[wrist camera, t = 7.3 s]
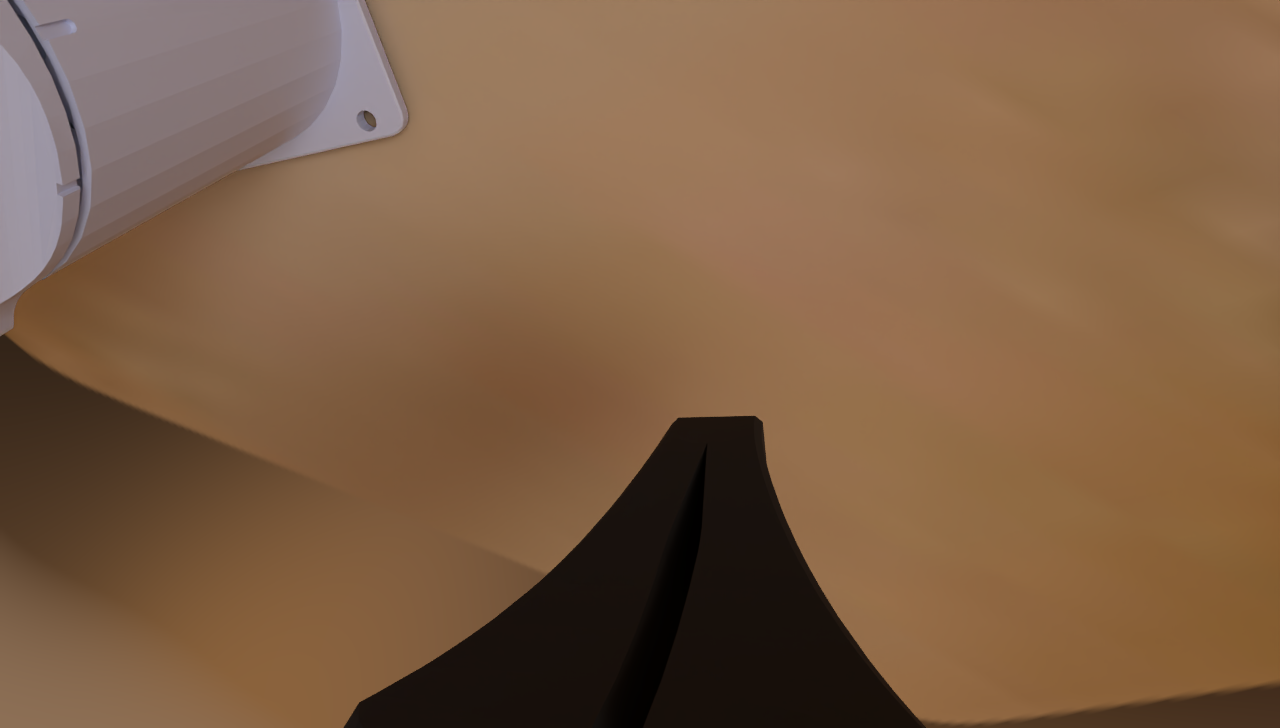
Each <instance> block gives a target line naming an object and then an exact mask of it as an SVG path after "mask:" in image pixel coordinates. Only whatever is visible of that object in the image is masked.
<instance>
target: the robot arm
mask: <svg viewBox="0 0 1280 728" xmlns="http://www.w3.org/2000/svg"><path fill="white" fill-rule="evenodd" d="M364 111H368V112H370V113H372V114H373V116H374V117H375V119H376V123H377V125H376V127H372V126H371V125H369V124H368V123H367V122H366V120H365V119H364ZM407 123H408V112H407V108H406V105H405V103H404V100H403V98H402V95H401V93H400V90H399V87H398V85H397V82H396V80H395V77H394V74H393V72H392V69H391V67H390V64H389V62H388V59H387V56H386V54H385V51H384V49H383V46H382V43H381V41H380V38H379V36H378V33H377V30H376V28H375V25H374V23H373V20H372V18H371V15H370V12H369V10H368V7H367V5H366V2H365V0H0V336H1V335H3V334H4V333H6V332H8V331H9V330H11V329H13V327H14V310H15V306H16V304H17V301H18V299H19V298H20V296H21V295H22V294H23V292H25V291H26V290H27V289H29V288H30V287H31V286H33V285H34V284H35V283H37V282H38V281H40V280H43V279H45V278H47V277H49V276H50V275H52V274H54V273H56V272H58V271H59V270H61V269H63V268H65V267H66V266H68V265H70V264H72V263H74V262H75V261H77V260H79V259H81V258H82V257H84V256H86V255H88V254H90V253H91V252H93V251H95V250H97V249H98V248H100V247H102V246H104V245H105V244H107V243H109V242H111V241H113V240H114V239H116V238H118V237H120V236H121V235H123V234H125V233H127V232H129V231H130V230H132V229H134V228H136V227H137V226H139V225H141V224H143V223H144V222H146V221H148V220H150V219H152V218H153V217H155V216H157V215H159V214H160V213H162V212H164V211H166V210H168V209H169V208H171V207H173V206H175V205H176V204H178V203H180V202H182V201H184V200H185V199H187V198H189V197H191V196H192V195H194V194H196V193H198V192H199V191H201V190H203V189H205V188H207V187H208V186H210V185H212V184H214V183H215V182H217V181H219V180H221V179H223V178H224V177H226V176H228V175H230V174H231V173H233V172H235V171H239V170H243V169H247V168H252V167H256V166H261V165H265V164H270V163H274V162H279V161H283V160H288V159H292V158H297V157H301V156H305V155H310V154H314V153H319V152H323V151H328V150H332V149H337V148H341V147H346V146H350V145H355V144H359V143H364V142H368V141H372V140H377V139H381V138H386V137H390V136H394V135H396V134H398V133H399V132H401V131H402V130H403V129H404V128H405V127H406V125H407ZM344 728H926V727H925V726H924V725H923V724H922V723H921V722H920V721H919V719H918V718H917V717H916V716H915V715H914V714H913V713H912V712H911V710H910V709H909V708H908V707H907V706H906V705H905V704H904V702H903V701H902V700H901V699H900V698H899V697H898V695H897V694H896V693H895V692H894V691H893V690H892V688H891V687H890V686H889V685H888V683H887V682H886V681H885V680H884V678H883V677H882V676H881V675H880V673H879V672H878V671H877V670H876V668H875V667H874V666H873V665H872V663H871V662H870V661H869V659H868V658H867V657H866V655H865V654H864V652H863V651H862V649H861V648H860V647H859V645H858V644H857V642H856V641H855V640H854V638H853V637H852V635H851V634H850V633H849V631H848V630H847V628H846V627H845V626H844V624H843V623H842V621H841V620H840V618H839V617H838V616H837V614H836V612H835V611H834V609H833V608H832V606H831V604H830V603H829V601H828V600H827V598H826V596H825V595H824V593H823V591H822V590H821V588H820V586H819V585H818V583H817V581H816V579H815V578H814V576H813V574H812V572H811V570H810V569H809V567H808V565H807V563H806V561H805V559H804V557H803V555H802V553H801V551H800V549H799V547H798V545H797V543H796V541H795V539H794V537H793V534H792V532H791V530H790V528H789V526H788V524H787V521H786V519H785V516H784V514H783V511H782V509H781V506H780V504H779V501H778V498H777V495H776V493H775V490H774V487H773V484H772V481H771V478H770V475H769V471H768V468H767V463H766V453H765V442H764V432H763V422H762V421H761V420H759V419H758V418H757V417H756V416H731V417H691V418H678V419H677V420H676V421H675V422H674V423H673V424H672V425H671V426H670V428H669V429H668V431H667V432H666V434H665V435H664V437H663V438H662V440H661V441H660V443H659V444H658V446H657V447H656V449H655V450H654V452H653V453H652V454H651V456H650V457H649V459H648V460H647V461H646V463H645V464H644V465H643V467H642V468H641V470H640V471H639V472H638V474H637V475H636V476H635V477H634V479H633V480H632V481H631V483H630V484H629V485H628V487H627V488H626V489H625V490H624V492H623V493H622V494H621V496H620V497H619V498H618V499H617V501H616V502H615V503H614V504H613V506H612V507H611V508H610V509H609V510H608V511H607V512H606V514H605V515H604V516H603V517H602V518H601V519H600V520H599V522H598V523H597V524H596V525H595V526H594V527H593V528H592V530H591V531H590V532H589V533H588V534H587V535H586V536H585V537H584V539H583V540H582V541H581V542H580V543H579V544H578V545H577V546H576V547H575V548H574V549H573V550H572V551H571V552H570V553H569V554H568V555H567V556H566V557H565V558H564V559H563V560H562V561H561V562H560V563H559V564H558V565H557V566H556V567H555V568H554V569H553V570H552V571H551V572H549V573H548V574H547V575H546V576H545V577H544V578H543V579H542V580H541V581H540V582H539V583H537V584H536V585H535V586H534V587H533V588H532V589H530V590H529V591H528V592H527V593H526V594H524V595H523V596H522V597H521V598H519V599H518V600H517V601H516V602H514V603H513V604H512V605H511V606H509V607H508V608H507V609H506V610H504V611H503V612H502V613H501V614H499V615H498V616H497V617H496V618H495V619H493V620H492V621H490V622H489V623H488V624H486V625H485V626H483V627H482V628H481V629H479V630H478V631H476V632H475V633H473V634H472V635H471V636H469V637H468V638H466V639H465V640H463V641H462V642H461V643H459V644H458V645H456V646H454V647H453V648H452V649H450V650H448V651H447V652H445V653H444V654H442V655H441V656H439V657H438V658H436V659H435V660H433V661H431V662H430V663H428V664H426V665H425V666H423V667H422V668H420V669H418V670H416V671H415V672H413V673H411V674H409V675H408V676H406V677H404V678H402V679H400V680H399V681H397V682H395V683H394V684H392V685H390V686H388V687H387V688H385V689H383V690H381V691H380V692H378V693H376V694H374V695H372V696H371V697H369V698H367V699H365V700H363V701H361V702H359V704H358V705H357V707H356V709H355V710H354V712H353V714H352V715H351V717H350V718H349V720H348V722H347V723H346V725H345V726H344Z"/></svg>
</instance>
